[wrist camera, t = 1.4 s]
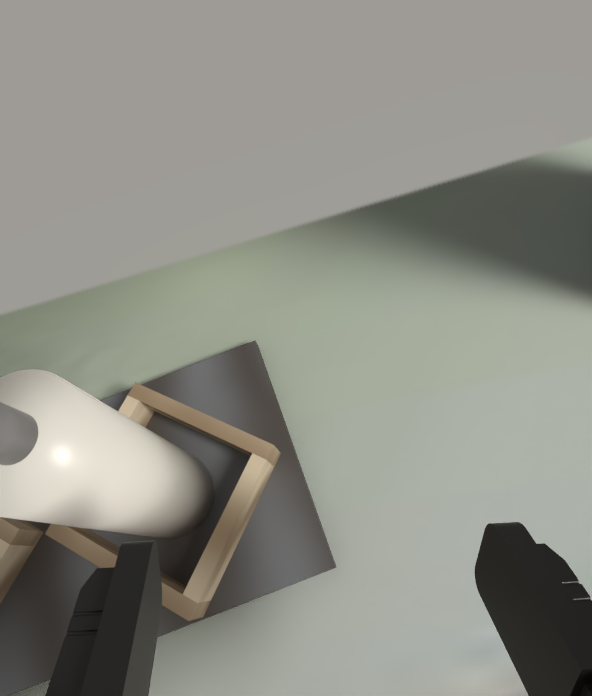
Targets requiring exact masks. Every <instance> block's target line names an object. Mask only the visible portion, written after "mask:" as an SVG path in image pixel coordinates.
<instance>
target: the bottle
mask: <svg viewBox="0 0 592 696" xmlns="http://www.w3.org/2000/svg"><path fill="white" fill-rule="evenodd" d="M213 499H214V483H213V479H212V476H211V474H210V472H209V470H208V468H207V467H206V466H205V465H204V464H203V462H201V461H200V460H199V459H197V458H196V457H194V456H192V455H191V454H189V453H187V452H185V451H184V450H182V449H180V448H179V447H177V446H175V445H174V444H172V443H170V442H169V441H167V440H165V439H164V438H162V437H160V436H159V435H157V434H155V433H153V432H152V431H150V430H148V429H147V428H145V427H143V426H142V425H140V424H138V423H137V422H135V421H133V420H132V419H130V418H128V417H127V416H125V415H123V414H122V413H120V412H118V411H116V410H115V409H113V408H111V407H110V406H108V405H106V404H105V403H103V402H101V401H100V400H98V399H96V398H95V397H93V396H91V395H90V394H88V393H86V392H84V391H83V390H81V389H79V388H78V387H76V386H74V385H73V384H71V383H69V382H68V381H66V380H64V379H63V378H61V377H59V376H57V375H56V374H53V373H51V372H48V371H44V370H36V369H28V370H20V371H15V372H12V373H9V374H6V375H4V376H2V377H0V517H4V518H11V519H19V520H27V521H34V522H42V523H50V524H57V525H65V526H72V527H80V528H88V529H95V530H103V531H111V532H118V533H126V534H134V535H141V536H149V537H156V538H164V539H175V538H180V537H183V536H186V535H188V534H190V533H191V532H193V531H194V530H195V529H197V528H198V527H199V526H200V525H201V524H202V523H203V521H204V520H205V519H206V517H207V516H208V514H209V512H210V509H211V507H212V504H213Z"/></svg>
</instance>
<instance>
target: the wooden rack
mask: <svg viewBox="0 0 592 696" xmlns="http://www.w3.org/2000/svg"><path fill="white" fill-rule="evenodd" d="M101 402H103V403H105V404H106V405H108V406H110V407H111V408H113V409H115V410H116V411H118V412H120V413H122V414H123V415H125V416H127V417H128V418H130V419H132V420H133V421H135V422H137V423H138V424H140V425H142V426H143V427H145V428H147V429H148V430H150V431H152V432H153V433H155V434H157V435H159V436H160V437H162V438H164V439H165V440H167V441H169V442H170V443H172V444H174V445H175V446H177V447H179V448H180V449H182V450H184V451H185V452H187V453H189V454H191V455H192V456H194V457H196V458H197V459H199V460H200V461H201V462H203V464H204V465H205V466H206V467H207V468H208V470H209V472H210V474H211V476H212V479H213V483H214V499H213V504H212V507H211V509H210V512H209V514H208V516H207V517H206V519H205V520H204V521H203V523H202V524H201V525H200V526H199V527H198V528H197V529H195V530H194V531H193V532H191V533H190V534H188V535H186V536H183V537H180V538H175V539H164V538H156V537H149V536H141V535H134V534H126V533H118V532H111V531H103V530H95V529H88V528H80V527H72V526H65V525H57V524H50V523H42V522H34V521H27V520H19V519H11V518H4V517H0V696H8V695H11V694H13V693H16V692H18V691H21V690H23V689H26V688H29V687H31V686H34V685H36V684H39V683H41V682H44V681H47V680H49V679H51V678H52V675H53V672H54V668H55V665H56V662H57V659H58V656H59V653H60V650H61V647H62V644H63V641H64V638H65V637H66V635H67V629H68V626H69V623H70V620H71V617H72V616H73V610H74V607H75V604H76V601H77V598H78V595H79V592H80V589H81V588H82V586H83V585H84V584H85V583H86V581H87V580H88V579H89V577H90V576H91V575H92V574H93V572H94V571H95V570H96V569H97V568H110V567H115V564H116V560H117V557H118V553H119V549H120V546H121V544H122V543H123V542H133V541H152V540H155V541H156V543H157V549H158V558H159V566H160V574H161V582H162V607H161V616H160V622H159V629H158V635H157V637H159V636H162V635H164V634H167V633H169V632H172V631H174V630H177V629H180V628H182V627H185V626H187V625H190V624H192V623H195V622H198V621H200V620H203V619H205V618H208V617H210V616H213V615H215V614H218V613H221V612H223V611H226V610H228V609H231V608H233V607H236V606H238V605H241V604H244V603H246V602H249V601H251V600H254V599H256V598H259V597H262V596H264V595H267V594H269V593H272V592H274V591H277V590H279V589H282V588H285V587H287V586H290V585H292V584H295V583H297V582H300V581H302V580H305V579H308V578H310V577H313V576H315V575H318V574H320V573H323V572H326V571H328V570H331V569H333V568H336V565H335V562H334V559H333V556H332V554H331V551H330V548H329V545H328V542H327V539H326V537H325V534H324V531H323V528H322V525H321V522H320V520H319V517H318V514H317V511H316V508H315V505H314V503H313V500H312V497H311V494H310V491H309V489H308V486H307V483H306V480H305V477H304V474H303V472H302V469H301V466H300V463H299V460H298V457H297V455H296V452H295V449H294V446H293V443H292V440H291V438H290V435H289V432H288V429H287V426H286V423H285V421H284V418H283V415H282V412H281V409H280V407H279V404H278V401H277V398H276V395H275V392H274V390H273V387H272V384H271V381H270V378H269V375H268V373H267V370H266V367H265V364H264V361H263V358H262V356H261V353H260V350H259V347H258V345H257V343H256V341H253V342H250V343H247V344H245V345H242V346H240V347H237V348H235V349H232V350H229V351H227V352H224V353H222V354H219V355H217V356H214V357H211V358H209V359H206V360H204V361H201V362H199V363H196V364H194V365H191V366H188V367H186V368H183V369H181V370H178V371H176V372H173V373H170V374H168V375H165V376H163V377H160V378H158V379H155V380H152V381H150V382H147V383H145V384H142V385H140V384H138V383H136V382H135V384H134V386H133V387H132V389H129V390H127V391H124V392H122V393H119V394H117V395H114V396H111V397H109V398H106V399H104V400H101Z"/></svg>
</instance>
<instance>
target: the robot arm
mask: <svg viewBox="0 0 592 696" xmlns="http://www.w3.org/2000/svg"><path fill="white" fill-rule="evenodd" d="M475 579H476V585H477V588H478V591H479V594H480V596H481V598H482V600H483V602H484V604H485V606H486V608H487V610H488V612H489V614H490V617H491V619H492V621H493V623H494V625H495V627H496V629H497V631H498V633H499V635H500V637H501V639H502V641H503V643H504V645H505V648H506V650H507V652H508V654H509V656H510V658H511V660H512V662H513V664H514V666H515V668H516V670H517V672H518V674H519V676H520V678H521V681H522V683H523V685H524V687H525V689H526V691H527V693H528V695H529V696H592V601H591V599H590V596H589V594H588V593H587V591H586V590H585V588H584V587H583V586H582V584H579V580H578V579H577V577H576V576H575V574H574V573H573V571H572V570H571V569H570V567H569V566H568V564H567V563H566V562H565V560H564V559H562V558H561V557H560V556H559V555H558V554H556V553H555V552H554V551H553V550H552V549H550V548H549V547H548V546H547V545H546V544H536V543H535V541H534V540H533V538H532V537H531V535H530V534H529V532H528V531H527V529H526V528H525V527H524V526H523V525H522V524H521V523H519V522H512V523H494V524H488V525H487V526H486V528H485V531H484V535H483V539H482V542H481V546H480V550H479V554H478V558H477V562H476V566H475ZM161 607H162V582H161V574H160V566H159V558H158V549H157V543H156V541H155V540H152V541H133V542H123V543H122V544H121V546H120V549H119V553H118V557H117V560H116V564H115V567H110V568H97V569H96V570H95V571H94V572H93V574H92V575H91V576H90V577H89V579H88V580H87V581H86V583H85V584H84V585H83V586H82V588H81V589H80V592H79V595H78V598H77V601H76V604H75V607H74V610H73V616H72V617H71V620H70V623H69V626H68V629H67V635H66V637H65V638H64V641H63V644H62V647H61V650H60V653H59V656H58V659H57V662H56V665H55V668H54V672H53V675H52V678H51V681H50V684H49V687H48V690H47V693H46V696H148V693H149V687H150V680H151V674H152V667H153V661H154V654H155V648H156V642H157V635H158V629H159V622H160V616H161Z"/></svg>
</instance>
